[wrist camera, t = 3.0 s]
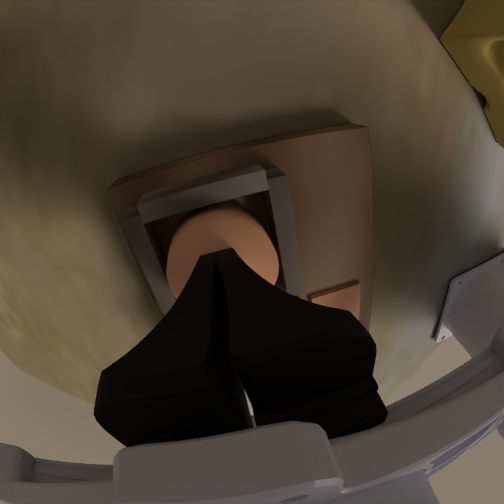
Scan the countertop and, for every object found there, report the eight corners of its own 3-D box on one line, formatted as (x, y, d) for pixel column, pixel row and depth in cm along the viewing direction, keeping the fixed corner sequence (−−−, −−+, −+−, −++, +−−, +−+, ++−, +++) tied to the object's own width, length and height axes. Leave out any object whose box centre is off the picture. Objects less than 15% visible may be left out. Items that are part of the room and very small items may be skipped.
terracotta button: (257, 191, 12) (268, 207, 10) (274, 276, 14) (285, 301, 13) (156, 219, 12) (149, 239, 10) (187, 299, 14) (187, 327, 12)
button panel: (353, 123, 13) (386, 131, 11) (353, 381, 24) (366, 405, 22) (115, 180, 13) (96, 200, 10) (228, 418, 24) (233, 445, 21)
